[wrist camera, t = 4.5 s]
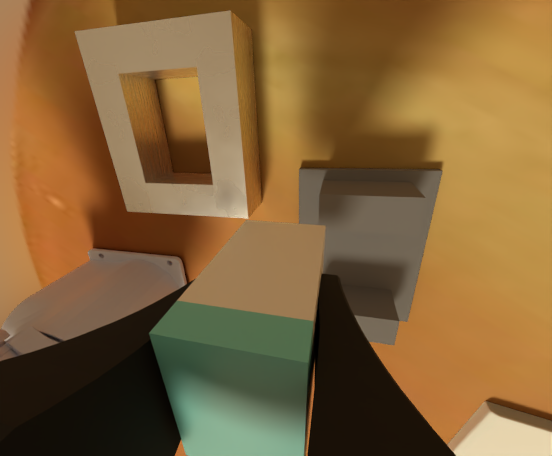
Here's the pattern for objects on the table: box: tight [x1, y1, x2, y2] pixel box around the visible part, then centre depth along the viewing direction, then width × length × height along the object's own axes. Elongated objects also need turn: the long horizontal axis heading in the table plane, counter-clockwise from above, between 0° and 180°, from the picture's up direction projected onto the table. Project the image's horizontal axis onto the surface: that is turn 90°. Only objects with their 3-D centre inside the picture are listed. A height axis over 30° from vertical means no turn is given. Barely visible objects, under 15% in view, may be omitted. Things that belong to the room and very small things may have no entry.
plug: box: [149, 220, 326, 456], centre depth 8 cm, size 3×4×6 cm
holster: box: [299, 168, 442, 345], centre depth 16 cm, size 8×11×4 cm
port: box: [74, 10, 262, 218], centre depth 16 cm, size 9×10×3 cm
